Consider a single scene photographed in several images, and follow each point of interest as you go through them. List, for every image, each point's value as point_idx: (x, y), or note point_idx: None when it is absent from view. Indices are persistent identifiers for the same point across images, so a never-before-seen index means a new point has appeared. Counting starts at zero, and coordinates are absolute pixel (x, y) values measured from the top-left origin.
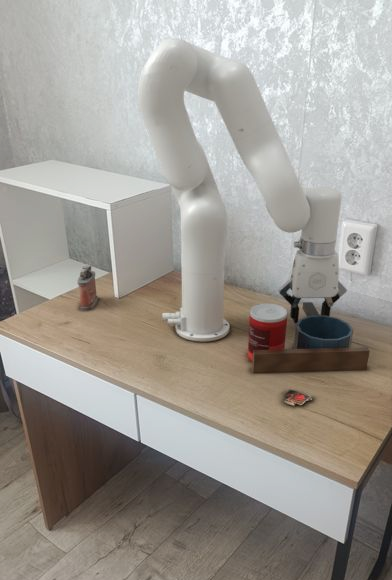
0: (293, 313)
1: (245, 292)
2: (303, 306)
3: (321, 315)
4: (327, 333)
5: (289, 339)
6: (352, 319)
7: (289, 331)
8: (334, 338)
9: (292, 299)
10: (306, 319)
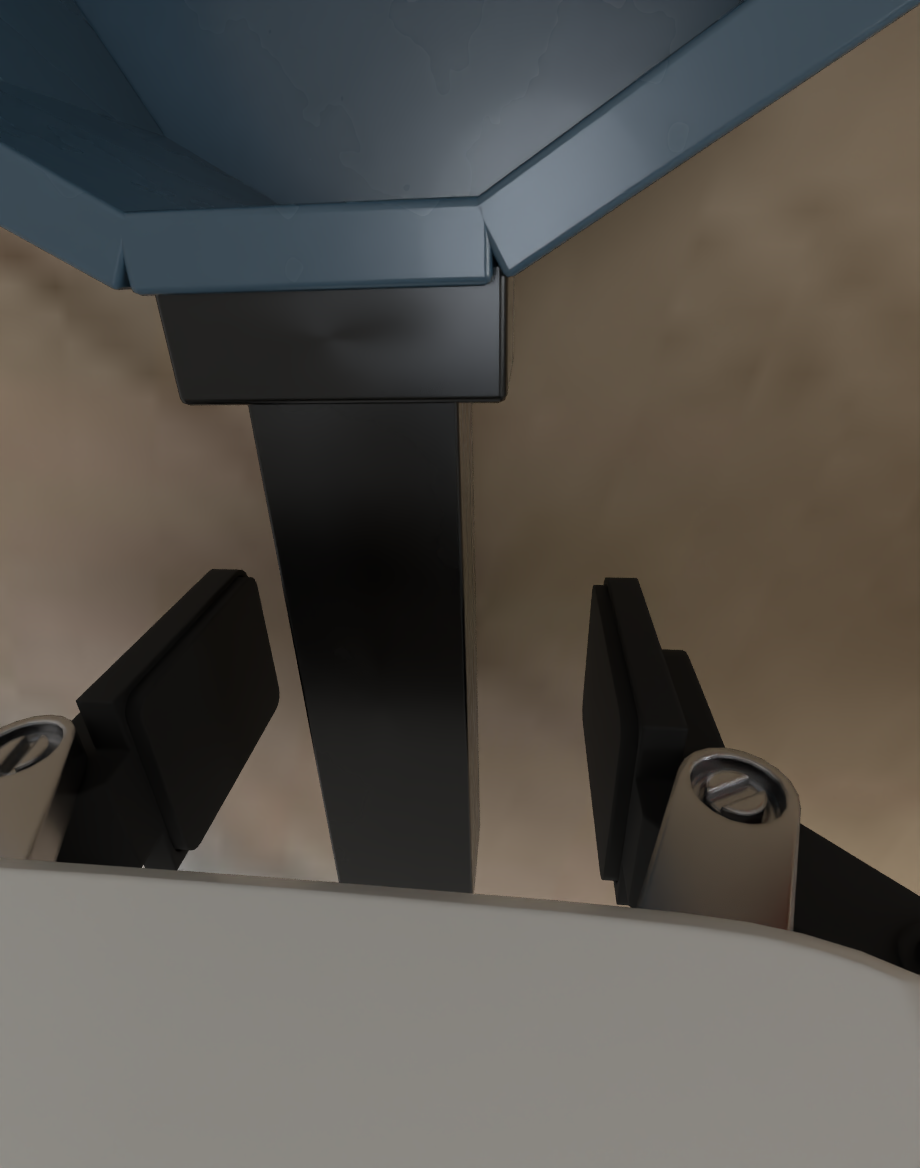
0: (680, 690)
1: None
2: (475, 836)
3: (199, 283)
4: (214, 180)
5: (758, 310)
6: (11, 707)
7: (675, 527)
8: (130, 123)
9: (822, 936)
10: (678, 54)
